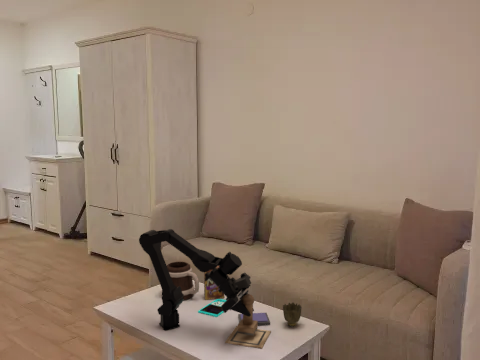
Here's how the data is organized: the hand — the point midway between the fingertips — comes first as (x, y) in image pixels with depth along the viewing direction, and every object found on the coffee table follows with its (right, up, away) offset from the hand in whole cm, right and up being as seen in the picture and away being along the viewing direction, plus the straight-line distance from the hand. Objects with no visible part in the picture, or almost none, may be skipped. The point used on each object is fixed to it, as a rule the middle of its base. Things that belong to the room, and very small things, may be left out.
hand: (251, 313), depth 159 cm
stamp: (-1, -7, +1) cm, 7 cm away
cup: (+16, -8, +11) cm, 21 cm away
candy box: (-16, -5, +39) cm, 43 cm away
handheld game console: (-14, -7, +28) cm, 32 cm away
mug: (-31, -5, +41) cm, 52 cm away
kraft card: (-1, -9, +2) cm, 10 cm away
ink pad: (+1, -8, +15) cm, 17 cm away
